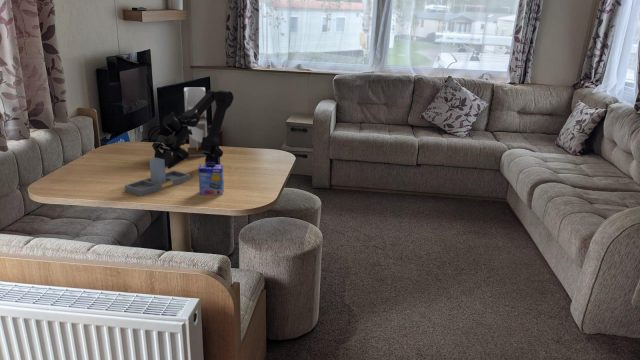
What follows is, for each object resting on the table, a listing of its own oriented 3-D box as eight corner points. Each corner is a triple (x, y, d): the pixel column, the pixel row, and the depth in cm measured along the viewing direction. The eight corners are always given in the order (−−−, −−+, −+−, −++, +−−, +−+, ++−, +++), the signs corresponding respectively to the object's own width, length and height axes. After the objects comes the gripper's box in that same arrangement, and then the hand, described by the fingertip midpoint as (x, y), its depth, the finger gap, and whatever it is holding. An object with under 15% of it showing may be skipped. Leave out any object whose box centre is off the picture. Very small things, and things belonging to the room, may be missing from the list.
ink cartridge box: (199, 195, 209) (197, 162, 204) (201, 190, 214) (199, 159, 210) (222, 195, 210) (221, 163, 205) (224, 191, 215) (223, 159, 211)
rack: (174, 175, 233) (174, 170, 232) (190, 179, 227) (190, 174, 227) (125, 190, 211) (124, 185, 210) (141, 196, 206) (141, 190, 205)
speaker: (176, 164, 249) (173, 144, 246) (167, 167, 245) (163, 146, 242) (168, 162, 254) (164, 142, 250) (158, 165, 249) (154, 145, 246)
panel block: (158, 180, 222) (156, 157, 218) (166, 183, 219) (164, 159, 216) (151, 183, 219) (149, 159, 215) (159, 185, 216) (157, 161, 213)
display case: (187, 150, 273) (184, 87, 262) (207, 150, 276) (204, 87, 265) (187, 156, 263) (184, 90, 252) (208, 155, 265) (205, 90, 254)
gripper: (153, 124, 221) (135, 153, 216) (182, 130, 212) (164, 161, 207) (168, 137, 230) (151, 166, 225) (197, 144, 221) (179, 174, 216)
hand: (161, 166), depth 218 cm, fingers open, 9 cm apart
